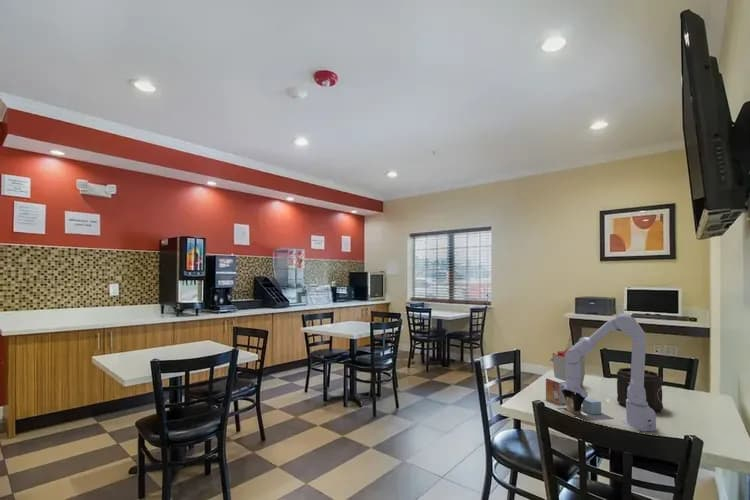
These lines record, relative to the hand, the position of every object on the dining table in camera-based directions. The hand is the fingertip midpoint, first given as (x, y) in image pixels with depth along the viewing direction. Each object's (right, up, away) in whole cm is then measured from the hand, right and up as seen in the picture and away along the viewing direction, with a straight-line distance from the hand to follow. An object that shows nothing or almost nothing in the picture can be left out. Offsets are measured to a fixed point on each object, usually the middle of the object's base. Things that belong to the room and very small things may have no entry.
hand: (573, 409), depth 164 cm
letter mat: (+4, -2, -1) cm, 4 cm away
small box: (-1, -3, +14) cm, 14 cm away
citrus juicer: (+18, -5, +42) cm, 46 cm away
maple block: (0, -1, 0) cm, 1 cm away
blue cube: (+8, -1, 0) cm, 8 cm away
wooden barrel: (+35, -3, +9) cm, 36 cm away
